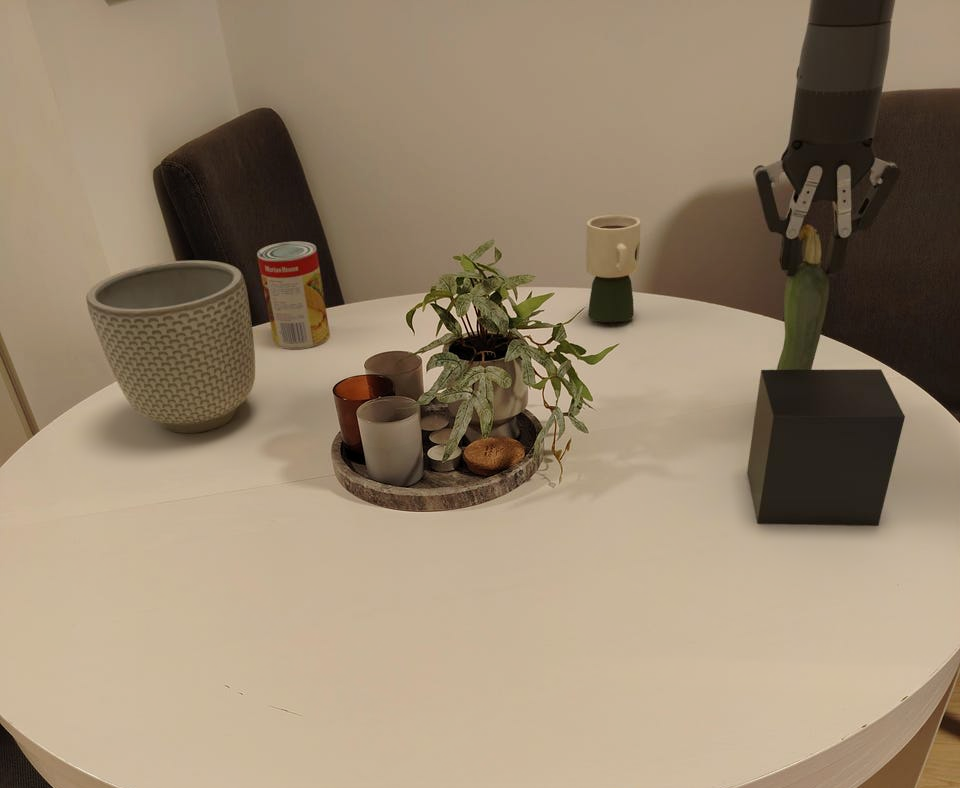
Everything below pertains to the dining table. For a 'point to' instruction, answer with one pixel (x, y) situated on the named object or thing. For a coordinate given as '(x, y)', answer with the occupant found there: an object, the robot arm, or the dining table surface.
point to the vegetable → (804, 305)
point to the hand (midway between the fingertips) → (809, 272)
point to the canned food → (294, 294)
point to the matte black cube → (823, 446)
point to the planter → (178, 340)
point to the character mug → (612, 265)
